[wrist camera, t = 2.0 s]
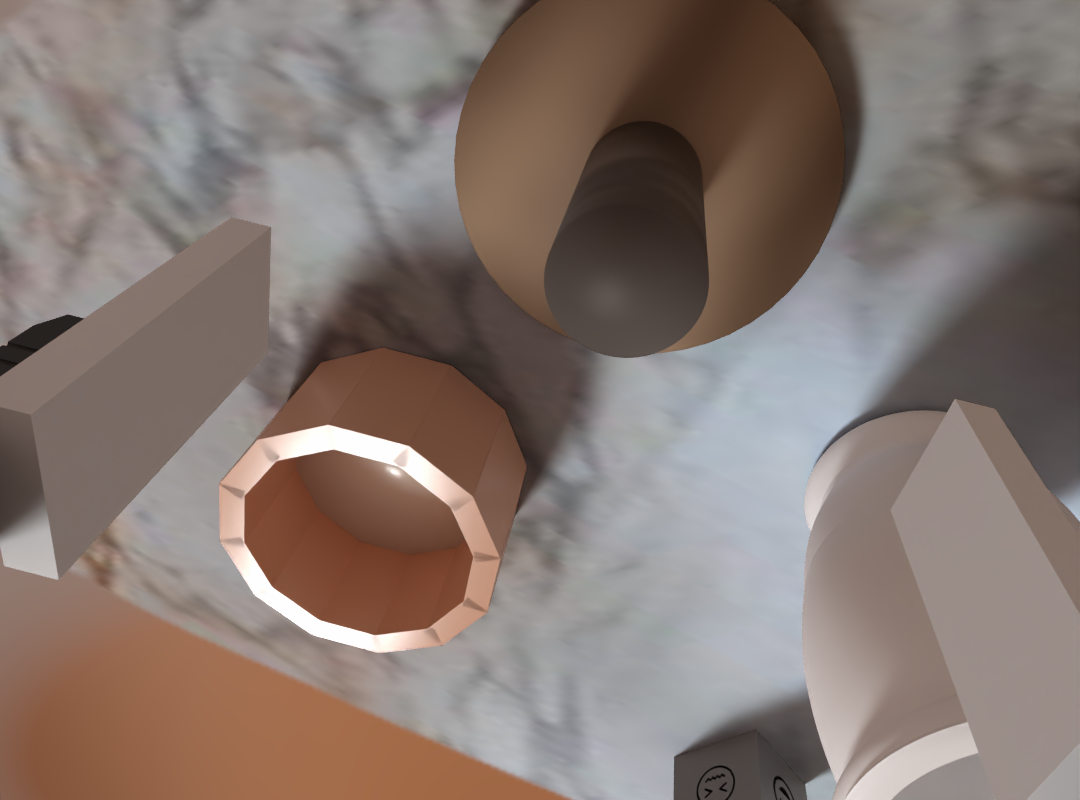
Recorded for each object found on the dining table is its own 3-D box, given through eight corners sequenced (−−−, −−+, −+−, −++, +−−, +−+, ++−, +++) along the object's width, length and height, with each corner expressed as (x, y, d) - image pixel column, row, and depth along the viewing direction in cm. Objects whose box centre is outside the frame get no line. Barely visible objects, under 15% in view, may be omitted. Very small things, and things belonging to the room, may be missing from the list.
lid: (906, 18, 25) (1027, 71, 16) (759, 374, 31) (788, 547, 23) (496, -83, 25) (396, -85, 16) (439, 292, 32) (347, 431, 23)
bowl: (546, 389, 33) (520, 475, 28) (499, 578, 39) (471, 677, 34) (289, 322, 33) (217, 395, 28) (281, 520, 39) (220, 610, 34)
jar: (754, 412, 32) (800, 735, 19) (1043, 355, 29) (1321, 692, 16) (802, 604, 37) (864, 966, 24) (1054, 572, 34) (1277, 965, 21)
